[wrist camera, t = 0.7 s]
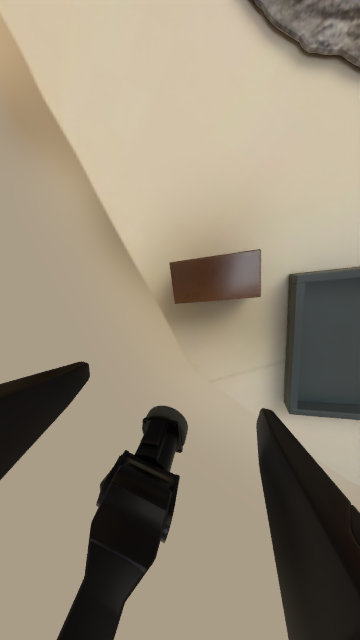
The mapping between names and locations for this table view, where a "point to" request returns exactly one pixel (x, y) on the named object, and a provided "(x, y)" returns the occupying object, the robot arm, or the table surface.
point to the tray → (324, 344)
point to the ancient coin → (318, 24)
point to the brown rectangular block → (217, 277)
